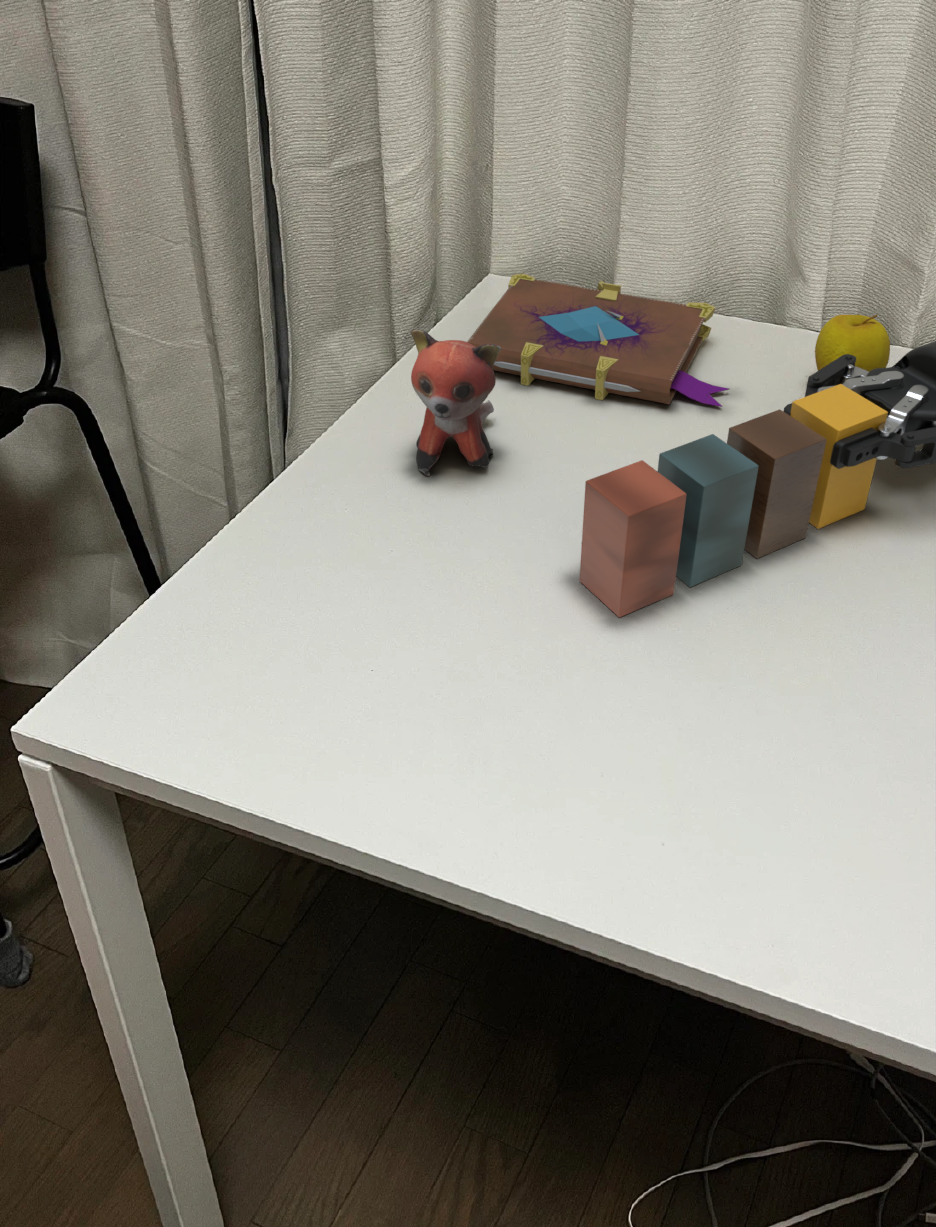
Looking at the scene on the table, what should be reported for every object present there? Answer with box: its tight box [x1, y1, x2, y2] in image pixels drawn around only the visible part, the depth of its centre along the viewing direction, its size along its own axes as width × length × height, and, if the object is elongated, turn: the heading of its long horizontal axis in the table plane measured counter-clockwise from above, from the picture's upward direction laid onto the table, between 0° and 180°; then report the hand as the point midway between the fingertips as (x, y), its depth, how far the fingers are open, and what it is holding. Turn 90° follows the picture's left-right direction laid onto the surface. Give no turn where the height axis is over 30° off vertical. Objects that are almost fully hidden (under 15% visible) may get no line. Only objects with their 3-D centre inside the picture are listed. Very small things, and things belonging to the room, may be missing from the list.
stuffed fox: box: [410, 329, 501, 477], centre depth 99 cm, size 8×11×12 cm
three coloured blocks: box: [578, 409, 827, 618], centre depth 88 cm, size 18×5×9 cm, turn 121°
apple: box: [814, 313, 891, 395], centre depth 107 cm, size 6×6×8 cm
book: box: [466, 273, 730, 408], centre depth 114 cm, size 16×25×5 cm, turn 67°
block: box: [790, 384, 888, 530], centre depth 93 cm, size 5×5×9 cm
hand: (810, 438), depth 91 cm, fingers closed on block, 5 cm apart
